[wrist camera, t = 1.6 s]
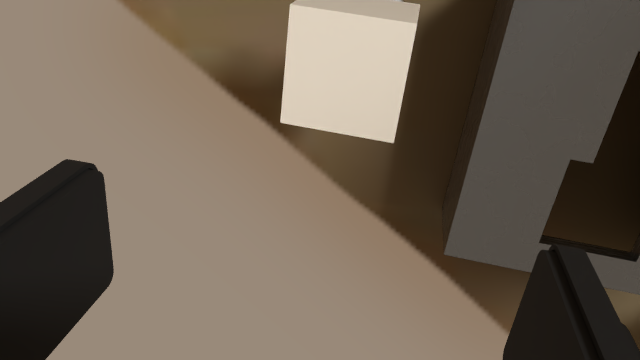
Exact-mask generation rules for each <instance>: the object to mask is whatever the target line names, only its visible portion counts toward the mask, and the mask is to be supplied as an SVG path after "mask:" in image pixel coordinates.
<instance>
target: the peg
mask: <svg viewBox="0 0 640 360" xmlns="http://www.w3.org/2000/svg"><path fill="white" fill-rule="evenodd" d="M419 9H420V4H414V3H407V2H403V0H296V1H295V2H293V3H291V4H290V12H289V24H288V36H287V48H286V60H285V72H284V84H283V96H282V108H281V120H280V123H285V124H290V125H296V126H301V127H307V128H312V129H318V130H323V131H329V132H334V133H340V134H345V135H351V136H356V137H362V138H367V139H373V140H378V141H384V142H389V143H394V139H395V134H396V129H397V124H398V119H399V114H400V109H401V104H402V99H403V94H404V89H405V84H406V78H407V73H408V68H409V63H410V58H411V53H412V48H413V43H414V38H415V33H416V28H417V22H418V16H419Z"/></svg>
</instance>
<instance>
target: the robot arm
mask: <svg viewBox="0 0 640 360" xmlns="http://www.w3.org/2000/svg"><path fill="white" fill-rule="evenodd" d="M112 277H113V260H112V250H111V241H110V232H109V222H108V212H107V202H106V193H105V183H104V177H103V174H102V173H101V172H100V171H98V170H97V168H96V166H95V165H94V164H92V163H86V162H81V161H75V160H68V159H66V160H64V161H62V162H60V163H59V164H57V165H56V166H54V167H53V168H51V169H50V170H48V171H47V172H45V173H44V174H42V175H41V176H39V177H38V178H36V179H35V180H33V181H32V182H30V183H29V184H27V185H26V186H24V187H23V188H21V189H20V190H19V191H17V192H15V193H14V194H12V195H11V196H10V197H8V198H7V199H5V200H4V201H2V202H0V360H45V359H46V358H47V357H48V356H49V355H50V354H51V353H52V351H53V350H54V349H55V348H56V347H57V346H58V344H59V343H60V342H61V341H62V340H63V338H64V337H65V336H66V335H67V334H68V333H69V332H70V330H71V329H72V328H73V327H74V326H75V324H76V323H77V322H78V321H79V320H80V319H81V318H82V316H83V315H84V314H85V313H86V312H87V311H88V309H89V308H90V307H91V306H92V305H93V304H94V303H95V301H96V300H97V299H98V298H99V297H100V296H101V294H102V293H103V292H104V291H105V290H106V289H107V287H108V286H109V285H110V283H111V281H112ZM503 360H640V351H639V349H638V347H637V345H636V343H635V341H634V339H633V337H632V335H631V333H630V332H629V330H628V329H627V327H626V326H625V325H623V324H622V323H621V322H620V320H619V318H618V316H617V313H616V311H615V309H614V307H613V305H612V303H611V301H610V299H609V297H608V295H607V293H606V291H605V289H604V287H603V285H602V283H601V281H600V279H599V277H598V275H597V273H596V271H595V269H594V267H593V265H592V263H591V261H590V259H589V257H588V255H587V253H586V252H585V250H583V249H578V248H572V247H567V246H561V245H555V244H553V245H552V246H551V247H550V248H549V250H540V252H539V253H538V255H537V258H536V261H535V264H534V266H533V269H532V272H531V275H530V278H529V280H528V283H527V286H526V289H525V292H524V294H523V297H522V300H521V303H520V306H519V308H518V311H517V314H516V317H515V320H514V322H513V325H512V328H511V331H510V334H509V336H508V339H507V342H506V345H505V348H504V353H503Z"/></svg>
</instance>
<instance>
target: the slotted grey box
mask: <svg viewBox="0 0 640 360" xmlns="http://www.w3.org/2000/svg"><path fill="white" fill-rule="evenodd" d="M638 51H640V0H497V2H496V5H495V9H494V13H493V17H492V21H491V25H490V28H489V32H488V36H487V40H486V44H485V47H484V51H483V55H482V59H481V63H480V66H479V70H478V74H477V78H476V82H475V85H474V89H473V93H472V97H471V101H470V104H469V108H468V112H467V116H466V120H465V123H464V127H463V131H462V135H461V139H460V142H459V146H458V150H457V154H456V158H455V161H454V165H453V169H452V173H451V177H450V181H449V184H448V188H447V192H446V196H445V200H444V203H443V207H442V215H443V248H444V255H448V256H453V257H458V258H463V259H468V260H472V261H477V262H482V263H487V264H492V265H497V266H502V267H507V268H512V269H516V270H521V271H526V272H532V269H533V266H534V264H535V261H536V258H537V255H538V253H539V252H540V250H549V248H550V247H551V246H552V245H553V244H555V245H561V246H567V247H572V248H578V249H583V250H585V252H586V253H587V255H588V257H589V259H590V261H591V263H592V265H593V267H594V269H595V271H596V273H597V275H598V277H599V279H600V281H601V283H602V285H603V287H604V288H609V289H614V290H619V291H624V292H629V293H634V294H638V295H640V234H639V236H638V238H637V240H636V242H635V244H634V247H633V249H632V251H631V252H626V251H621V250H615V249H610V248H605V247H600V246H595V245H590V244H585V243H580V242H575V241H570V240H564V239H559V238H554V237H549V236H544V235H542V233H543V230H544V228H545V225H546V222H547V220H548V217H549V214H550V212H551V209H552V207H553V204H554V201H555V199H556V196H557V193H558V191H559V188H560V185H561V183H562V180H563V178H564V175H565V172H566V170H567V167H568V164H569V162H570V159H571V160H576V161H582V162H588V163H593V162H594V160H595V157H596V155H597V152H598V150H599V147H600V145H601V142H602V140H603V137H604V135H605V133H606V130H607V128H608V125H609V123H610V120H611V118H612V115H613V113H614V110H615V108H616V105H617V103H618V100H619V98H620V95H621V93H622V90H623V88H624V85H625V83H626V81H627V78H628V76H629V73H630V71H631V68H632V66H633V63H634V61H635V58H636V56H637V53H638Z"/></svg>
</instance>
